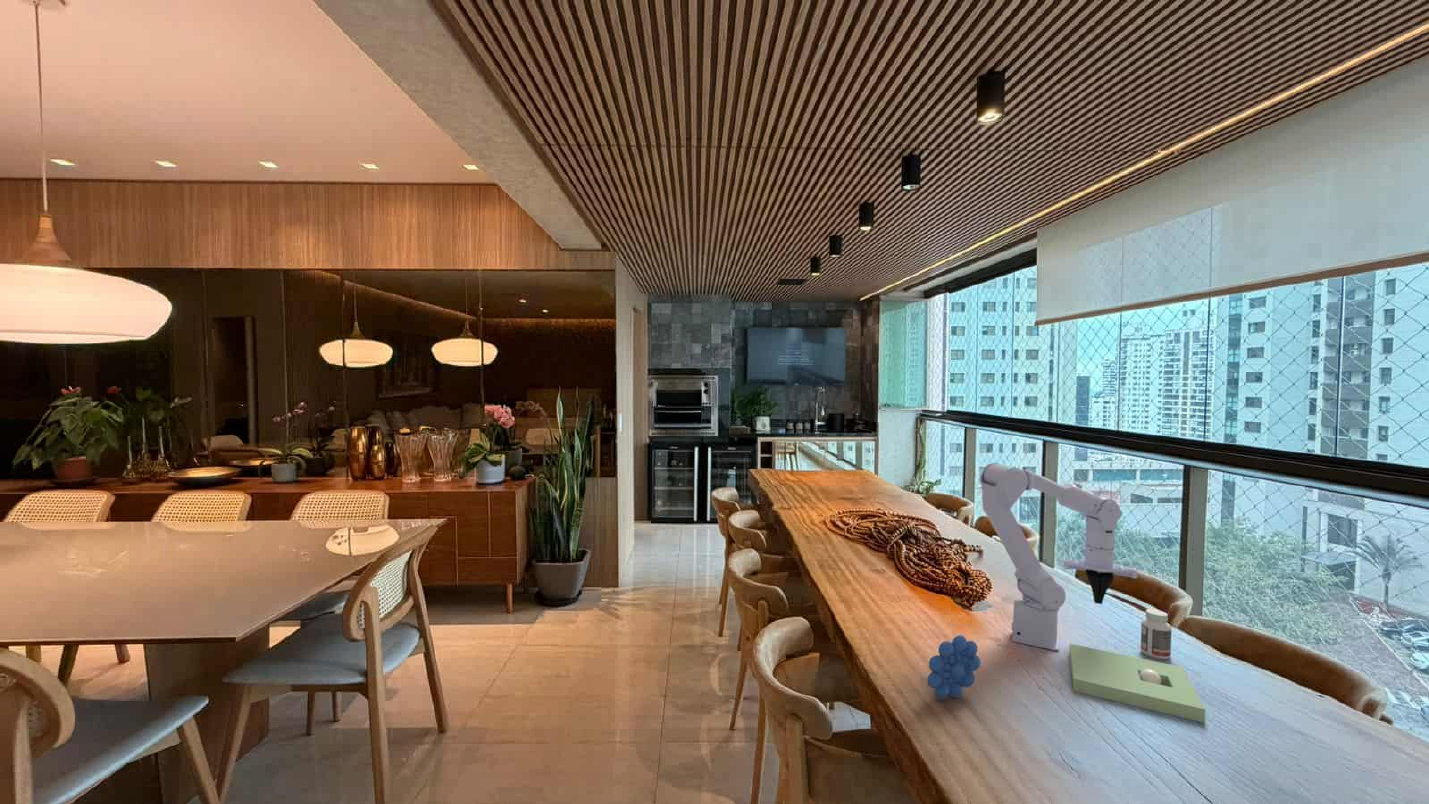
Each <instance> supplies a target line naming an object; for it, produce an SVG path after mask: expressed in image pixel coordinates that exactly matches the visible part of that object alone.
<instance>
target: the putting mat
mask: <svg viewBox="0 0 1429 804" xmlns="http://www.w3.org/2000/svg"><path fill="white" fill-rule="evenodd" d="M1069 660H1070V670H1071V678H1072V679H1071V680H1072V688H1073V691H1074V692H1076V693H1081V694H1086V695H1089V696H1094V697H1098V698H1101V699H1107V700H1110V701H1112V702H1113V701H1114V702H1117V703H1118V702H1119V703H1122V704H1126V705H1130V706H1134V707H1137V708H1138V707H1139V708H1142V709H1146V710H1150V711H1154V712H1159V713H1162V714H1165V715H1166V714H1167V715H1170V716H1174V717H1178V718H1183V719H1187V720H1191V721H1194V722H1200V723H1203V724H1205V723H1206V708H1205V706H1204V705H1203V703H1202V700H1201V698H1200V697H1199V695H1198V693H1197V691H1196V689H1195V687H1194V685H1193V684H1192V681H1191V680H1190V677H1189V676H1188V673H1187V672H1186V670H1185V668H1184V667H1183V666H1179V665H1174V664H1170V663H1165V662H1164V663H1163V662H1159V661H1154V660H1149V659H1145V658H1141V657H1136V656H1132V655H1125V654H1122V653H1116V652H1112V651H1108V650H1102V649H1097V648H1092V647H1087V646H1082V645H1079V644H1078V645H1077V644H1074V643H1069ZM1145 669H1150V670H1153V671H1155V672H1156V673H1157V674H1158V675H1159V676H1160V678H1161V685H1159V684H1155V683H1151V682H1146V681H1142V680H1141V679H1140V676H1139V675H1140V672H1141V671H1142V670H1145Z"/></svg>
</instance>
